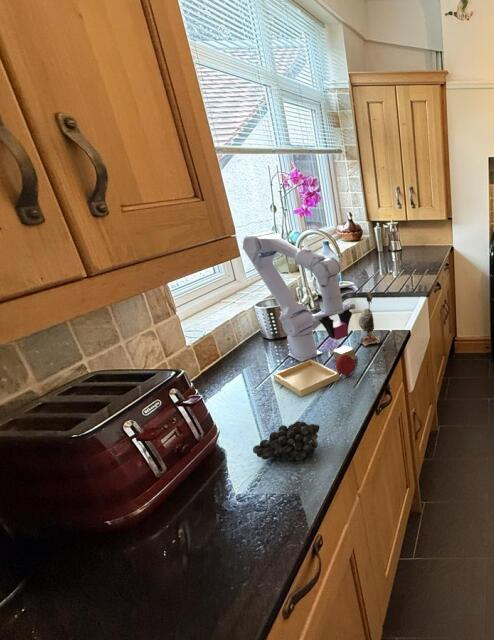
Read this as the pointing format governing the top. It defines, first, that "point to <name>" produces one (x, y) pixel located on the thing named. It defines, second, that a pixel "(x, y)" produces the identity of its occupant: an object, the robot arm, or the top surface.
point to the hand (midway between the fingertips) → (338, 334)
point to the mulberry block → (340, 330)
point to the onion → (345, 365)
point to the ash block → (345, 350)
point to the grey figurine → (368, 324)
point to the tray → (306, 377)
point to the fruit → (289, 442)
